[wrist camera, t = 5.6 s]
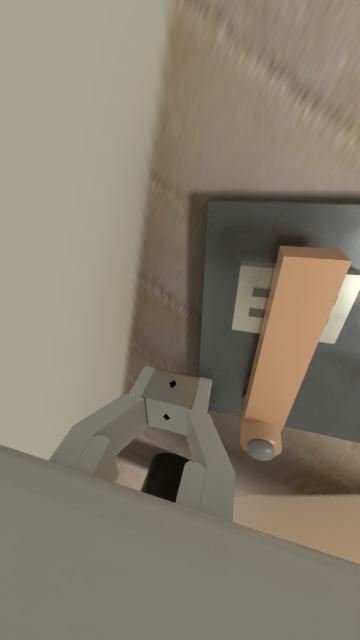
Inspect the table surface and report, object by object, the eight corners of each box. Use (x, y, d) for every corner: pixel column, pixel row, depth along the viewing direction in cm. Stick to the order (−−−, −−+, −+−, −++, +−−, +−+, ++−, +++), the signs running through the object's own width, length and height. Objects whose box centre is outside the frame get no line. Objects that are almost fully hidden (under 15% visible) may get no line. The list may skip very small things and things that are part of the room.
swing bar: (273, 417, 22) (277, 469, 18) (239, 410, 23) (237, 458, 19) (335, 244, 13) (369, 274, 9) (276, 240, 14) (285, 267, 10)
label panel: (758, 209, 10) (894, 219, 8) (457, 450, 21) (480, 481, 19) (211, 199, 15) (204, 204, 13) (199, 395, 26) (195, 415, 24)
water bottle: (152, 475, 41) (70, 725, 23) (143, 444, 36) (25, 738, 17) (208, 490, 39) (167, 787, 20) (207, 459, 33) (149, 826, 15)
